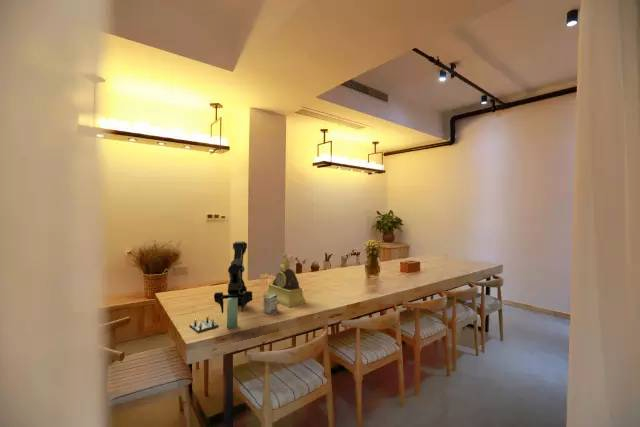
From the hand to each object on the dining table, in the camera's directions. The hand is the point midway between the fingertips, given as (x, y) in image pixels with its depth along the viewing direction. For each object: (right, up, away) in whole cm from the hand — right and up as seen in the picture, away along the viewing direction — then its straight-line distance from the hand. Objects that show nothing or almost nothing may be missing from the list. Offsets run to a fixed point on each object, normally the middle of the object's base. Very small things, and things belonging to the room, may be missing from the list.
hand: (232, 312), depth 138 cm
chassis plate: (-14, -7, +1) cm, 16 cm away
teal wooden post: (0, -7, +1) cm, 8 cm away
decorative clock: (+20, -8, +44) cm, 49 cm away
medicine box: (+15, -8, +24) cm, 29 cm away
